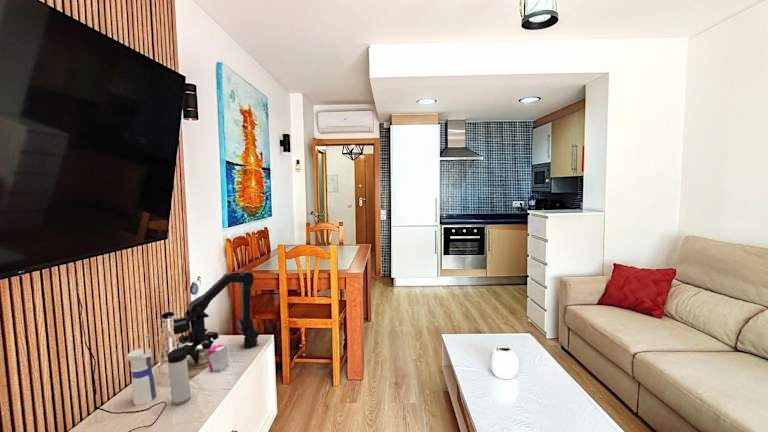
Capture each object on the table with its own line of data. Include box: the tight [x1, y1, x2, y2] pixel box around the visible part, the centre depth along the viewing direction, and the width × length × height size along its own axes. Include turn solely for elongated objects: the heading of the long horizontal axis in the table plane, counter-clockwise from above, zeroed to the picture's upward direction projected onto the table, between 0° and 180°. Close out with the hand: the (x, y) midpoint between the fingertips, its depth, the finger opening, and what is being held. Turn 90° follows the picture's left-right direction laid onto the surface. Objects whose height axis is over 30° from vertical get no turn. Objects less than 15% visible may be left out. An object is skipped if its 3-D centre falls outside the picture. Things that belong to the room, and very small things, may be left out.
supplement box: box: [208, 344, 229, 373], centre depth 155 cm, size 6×6×12 cm
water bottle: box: [125, 333, 158, 406], centre depth 137 cm, size 8×9×25 cm
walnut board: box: [187, 359, 209, 381], centre depth 159 cm, size 22×14×2 cm, turn 165°
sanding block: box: [188, 347, 209, 365], centre depth 162 cm, size 5×8×5 cm, turn 75°
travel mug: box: [167, 346, 192, 406], centre depth 135 cm, size 6×7×20 cm
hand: (200, 360), depth 163 cm, fingers closed on sanding block, 5 cm apart
